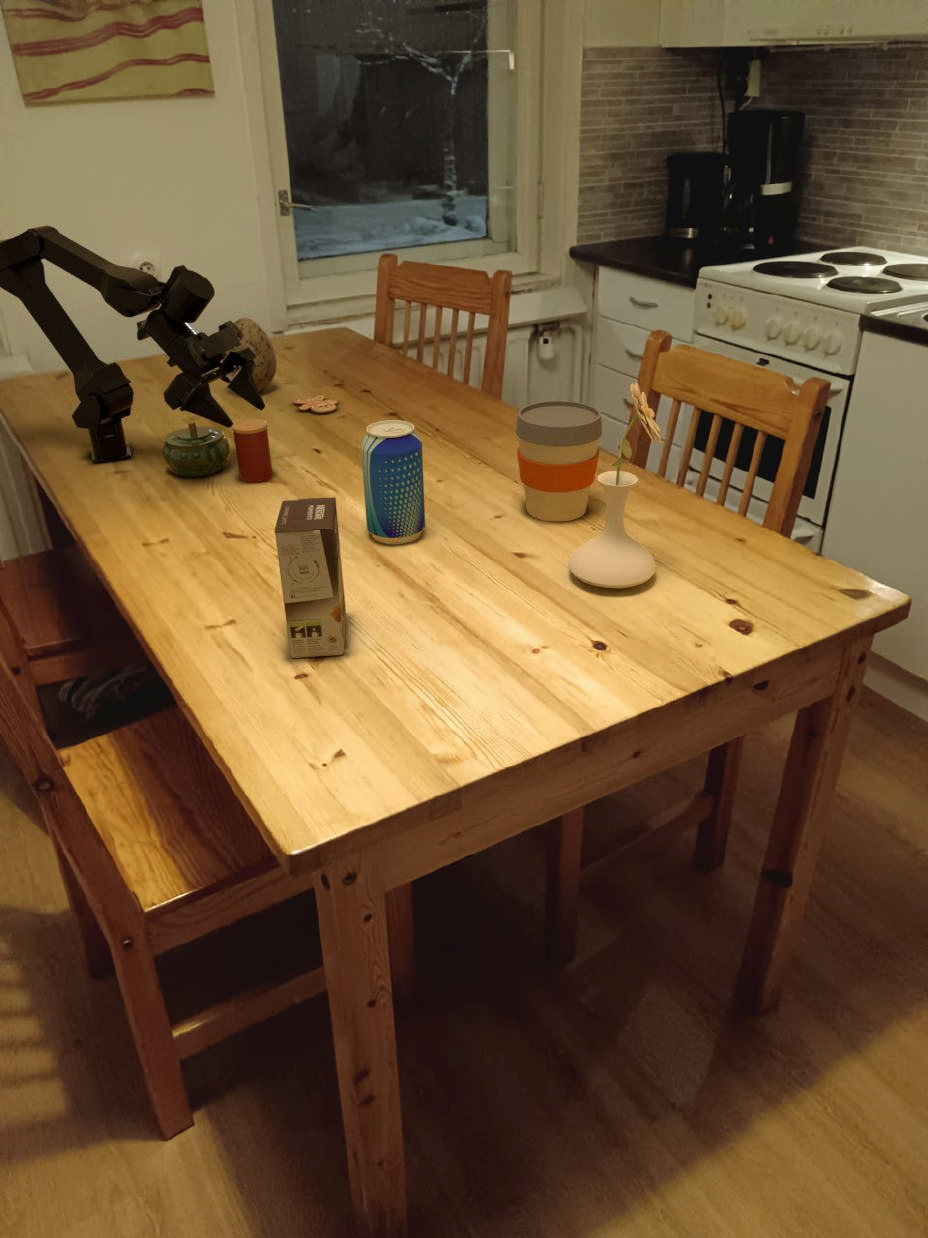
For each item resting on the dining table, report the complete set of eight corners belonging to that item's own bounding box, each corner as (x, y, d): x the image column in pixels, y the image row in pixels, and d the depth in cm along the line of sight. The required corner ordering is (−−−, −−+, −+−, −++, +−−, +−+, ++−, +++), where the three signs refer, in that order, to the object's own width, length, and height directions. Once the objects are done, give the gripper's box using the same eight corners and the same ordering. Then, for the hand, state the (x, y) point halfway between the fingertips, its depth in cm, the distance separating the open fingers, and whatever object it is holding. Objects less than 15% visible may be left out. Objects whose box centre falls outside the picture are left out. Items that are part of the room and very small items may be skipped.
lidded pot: (163, 462, 166) (154, 417, 162) (227, 453, 169) (220, 408, 165) (169, 484, 157) (160, 437, 153) (237, 474, 160) (230, 428, 156)
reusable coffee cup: (552, 486, 153) (554, 394, 146) (614, 508, 145) (621, 412, 138) (497, 510, 146) (497, 414, 138) (560, 534, 138) (564, 434, 130)
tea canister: (245, 470, 162) (237, 418, 157) (277, 470, 161) (270, 419, 157) (235, 482, 157) (227, 430, 153) (268, 483, 157) (261, 430, 152)
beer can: (381, 551, 134) (373, 442, 126) (358, 529, 141) (350, 424, 133) (435, 538, 137) (431, 431, 129) (410, 517, 144) (405, 414, 136)
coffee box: (345, 655, 111) (333, 529, 103) (289, 659, 110) (273, 532, 102) (347, 616, 119) (336, 495, 111) (295, 619, 118) (280, 498, 110)
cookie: (325, 392, 196) (347, 404, 189) (325, 396, 197) (347, 408, 189) (287, 399, 192) (309, 411, 185) (288, 404, 193) (309, 416, 185)
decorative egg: (254, 380, 208) (245, 309, 200) (290, 388, 202) (282, 316, 194) (216, 393, 200) (205, 320, 192) (252, 402, 195) (242, 327, 187)
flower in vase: (634, 605, 120) (649, 410, 107) (552, 583, 125) (558, 395, 112) (672, 564, 129) (691, 380, 117) (595, 545, 134) (605, 368, 122)
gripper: (166, 321, 140) (240, 403, 142) (238, 295, 155) (304, 369, 157) (132, 370, 147) (204, 447, 149) (205, 340, 162) (269, 411, 163)
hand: (247, 417), depth 154 cm, fingers open, 9 cm apart
